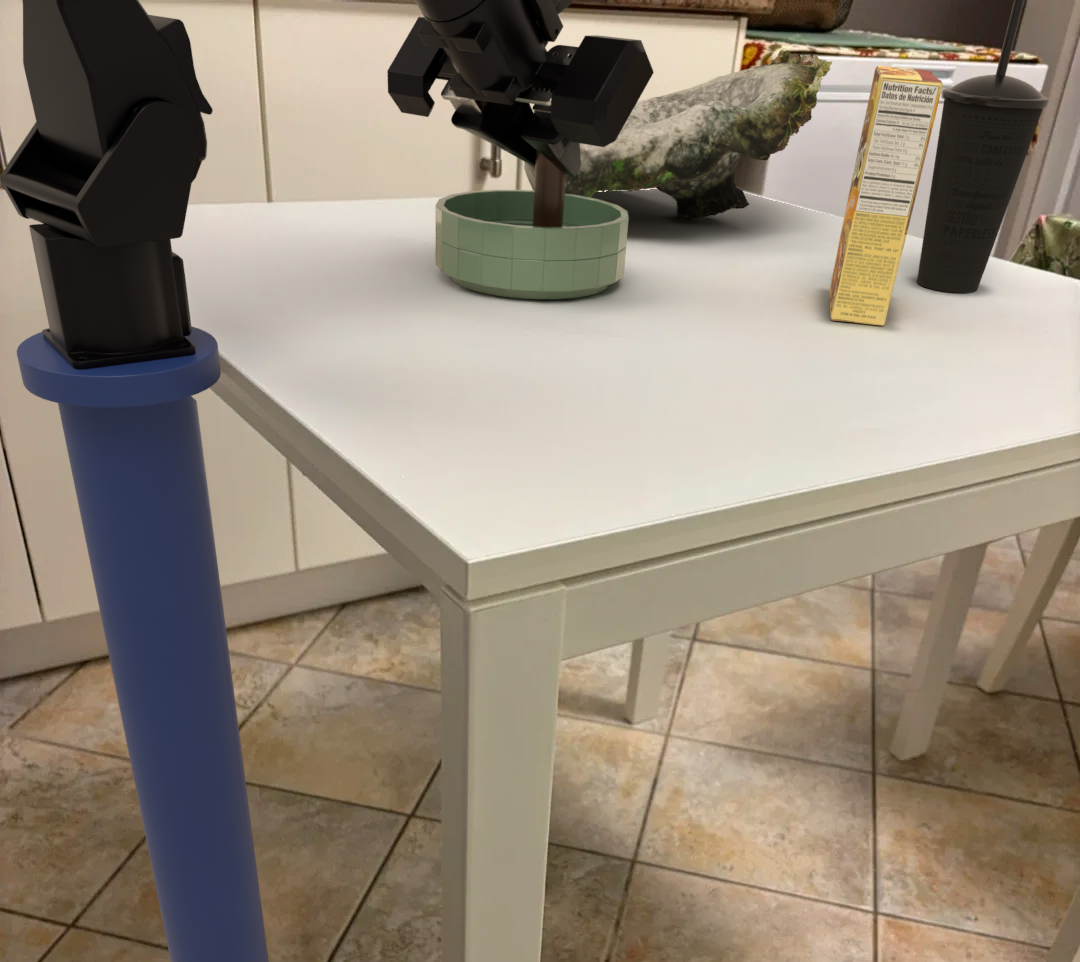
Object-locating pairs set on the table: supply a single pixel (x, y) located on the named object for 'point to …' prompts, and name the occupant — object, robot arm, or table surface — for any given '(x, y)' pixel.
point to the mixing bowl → (529, 245)
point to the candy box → (883, 192)
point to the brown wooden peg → (548, 193)
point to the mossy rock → (703, 136)
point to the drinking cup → (976, 170)
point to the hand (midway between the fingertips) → (562, 169)
